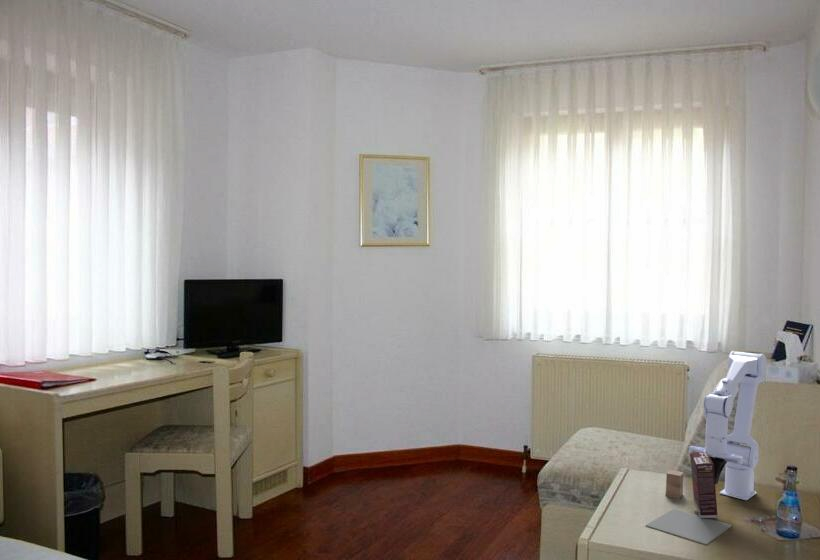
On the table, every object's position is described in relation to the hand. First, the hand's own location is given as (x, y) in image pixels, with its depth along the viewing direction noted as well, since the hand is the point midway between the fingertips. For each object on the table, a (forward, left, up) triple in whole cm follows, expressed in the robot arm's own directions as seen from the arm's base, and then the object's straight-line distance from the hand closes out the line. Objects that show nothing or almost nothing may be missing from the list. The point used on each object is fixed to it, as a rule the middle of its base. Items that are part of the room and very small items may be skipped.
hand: (713, 483), depth 196 cm
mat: (+17, 0, -8) cm, 19 cm away
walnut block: (-4, -13, -8) cm, 16 cm away
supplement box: (+5, 0, -7) cm, 9 cm away
